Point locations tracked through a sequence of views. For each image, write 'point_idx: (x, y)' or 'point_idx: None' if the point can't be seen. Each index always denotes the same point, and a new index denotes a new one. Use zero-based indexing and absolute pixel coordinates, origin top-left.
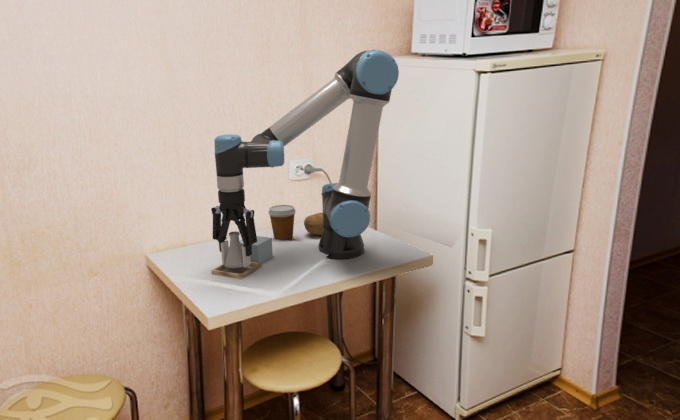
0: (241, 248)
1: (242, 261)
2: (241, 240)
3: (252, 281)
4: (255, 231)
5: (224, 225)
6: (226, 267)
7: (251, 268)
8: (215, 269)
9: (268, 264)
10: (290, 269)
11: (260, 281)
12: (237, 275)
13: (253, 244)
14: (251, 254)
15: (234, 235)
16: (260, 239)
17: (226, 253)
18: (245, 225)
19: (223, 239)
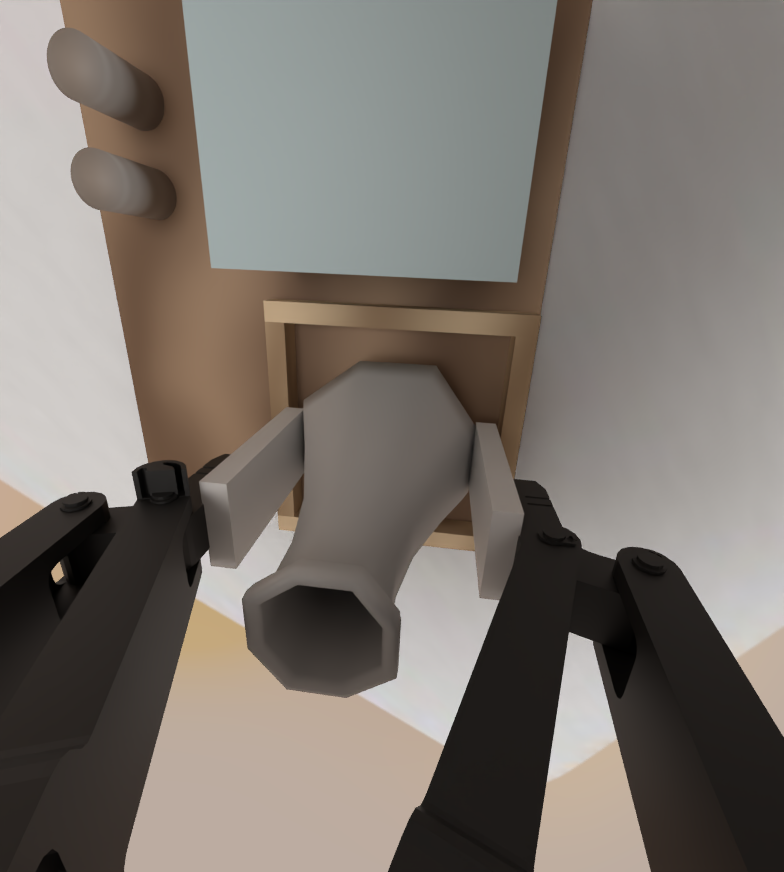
0: (428, 501)
1: (458, 491)
2: (219, 170)
3: (544, 488)
4: (752, 699)
5: (131, 799)
6: (297, 403)
7: (510, 437)
8: (290, 512)
9: None
10: (760, 201)
11: (594, 476)
12: (470, 547)
13: (448, 266)
14: (536, 482)
15: (370, 678)
16: (437, 6)
17: (280, 468)
18: (542, 779)
19: (192, 537)
